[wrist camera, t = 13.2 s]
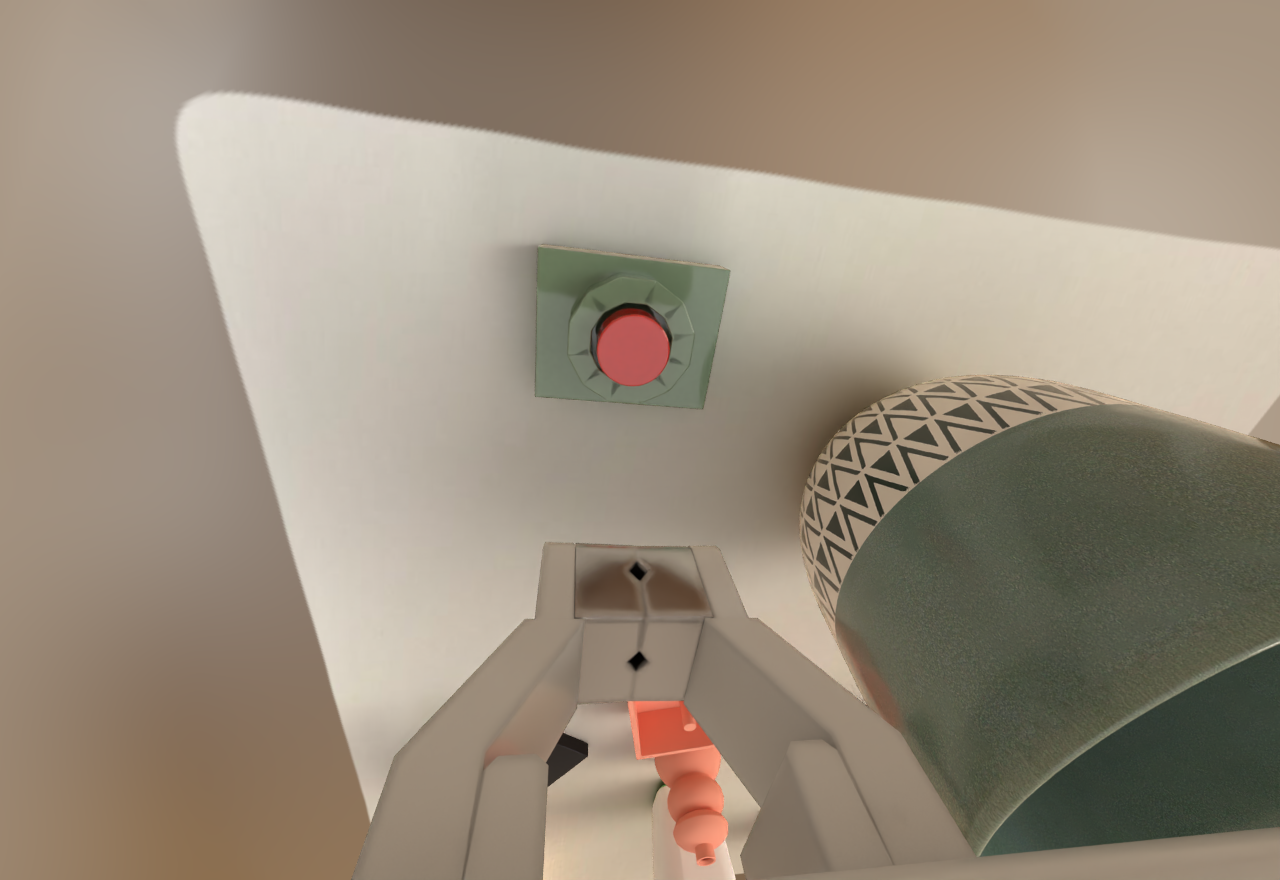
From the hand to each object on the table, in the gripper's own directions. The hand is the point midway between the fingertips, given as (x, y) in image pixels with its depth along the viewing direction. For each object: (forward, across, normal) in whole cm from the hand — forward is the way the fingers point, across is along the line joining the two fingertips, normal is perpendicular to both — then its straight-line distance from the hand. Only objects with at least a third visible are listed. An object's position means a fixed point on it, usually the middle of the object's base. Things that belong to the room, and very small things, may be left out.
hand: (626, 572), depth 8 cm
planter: (+21, -22, +8) cm, 31 cm away
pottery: (+21, -11, +36) cm, 43 cm away
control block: (+21, -2, 0) cm, 21 cm away
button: (+17, -2, 0) cm, 17 cm away
